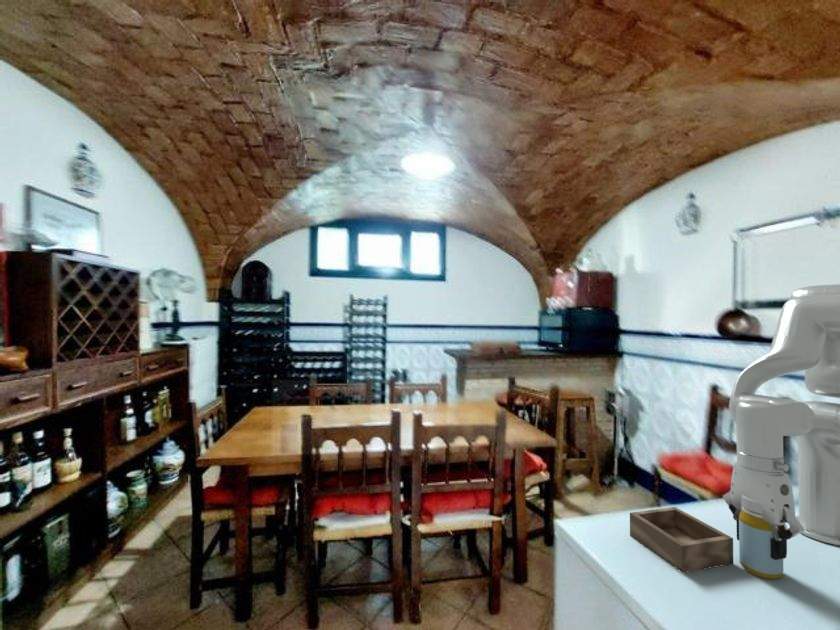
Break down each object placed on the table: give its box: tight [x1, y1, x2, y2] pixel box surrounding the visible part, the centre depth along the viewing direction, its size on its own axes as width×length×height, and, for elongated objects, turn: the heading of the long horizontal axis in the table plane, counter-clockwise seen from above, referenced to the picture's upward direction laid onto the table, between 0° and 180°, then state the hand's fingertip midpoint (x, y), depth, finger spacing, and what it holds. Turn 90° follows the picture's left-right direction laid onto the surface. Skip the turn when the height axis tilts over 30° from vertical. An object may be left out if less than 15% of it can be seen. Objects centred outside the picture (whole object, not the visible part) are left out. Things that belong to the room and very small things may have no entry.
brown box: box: [629, 506, 734, 573], centre depth 94 cm, size 13×15×6 cm
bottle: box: [738, 495, 784, 580], centre depth 86 cm, size 7×7×15 cm
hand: (760, 547), depth 86 cm, fingers closed on bottle, 6 cm apart
